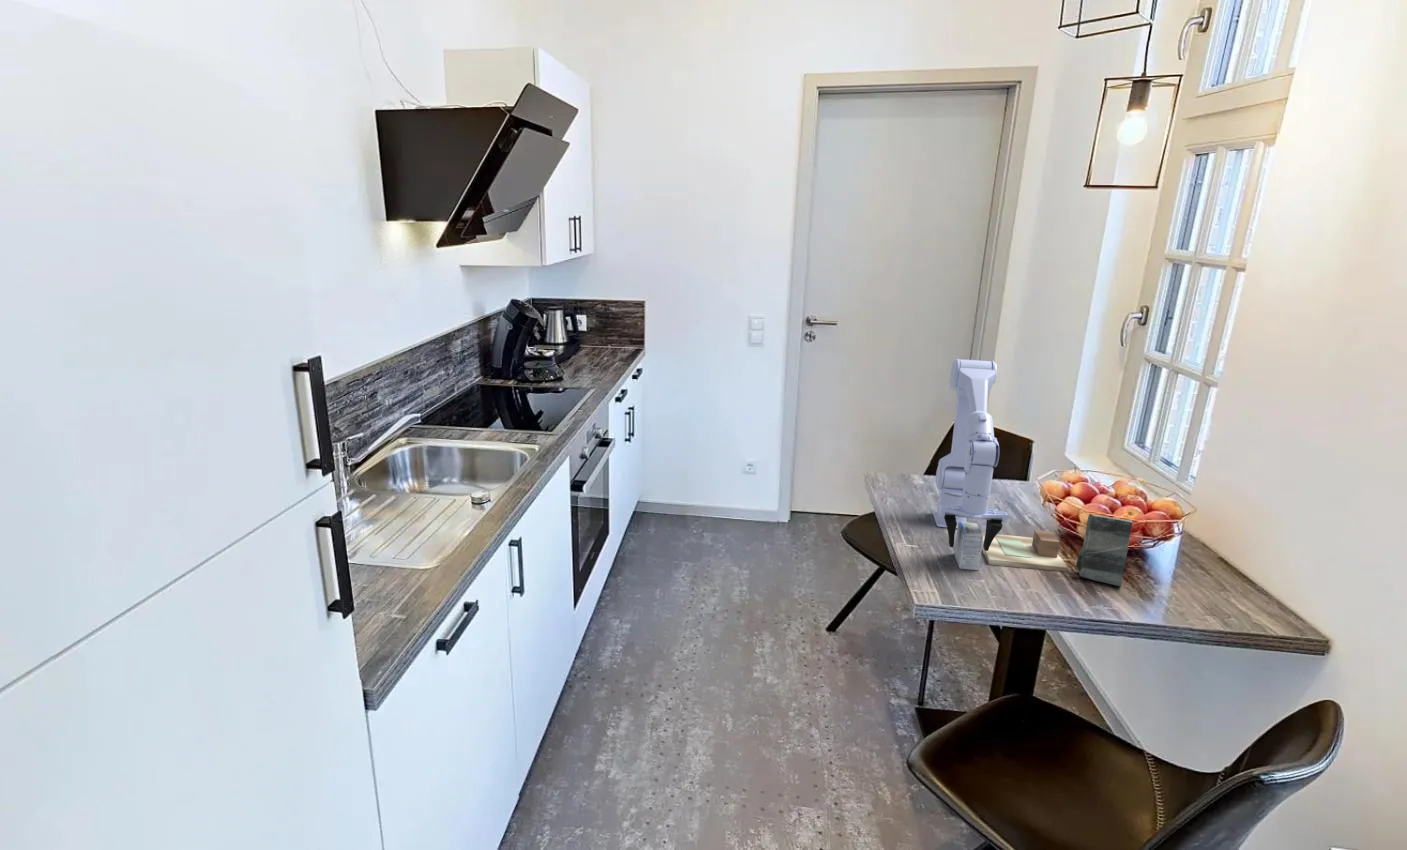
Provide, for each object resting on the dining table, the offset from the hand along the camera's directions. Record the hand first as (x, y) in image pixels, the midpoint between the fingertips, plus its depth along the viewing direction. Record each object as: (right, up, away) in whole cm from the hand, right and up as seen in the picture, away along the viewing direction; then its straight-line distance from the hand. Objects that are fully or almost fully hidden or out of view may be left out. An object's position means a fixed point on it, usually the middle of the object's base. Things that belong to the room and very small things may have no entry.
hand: (968, 547), depth 160 cm
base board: (+15, -3, +6) cm, 16 cm away
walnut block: (+20, -2, +5) cm, 21 cm away
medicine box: (0, -4, +1) cm, 4 cm away
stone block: (+27, -6, -5) cm, 28 cm away
